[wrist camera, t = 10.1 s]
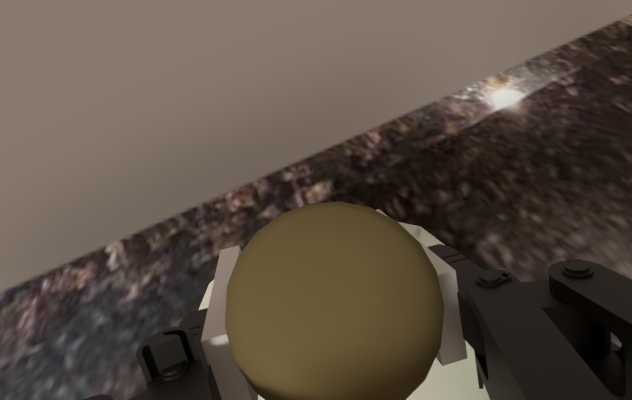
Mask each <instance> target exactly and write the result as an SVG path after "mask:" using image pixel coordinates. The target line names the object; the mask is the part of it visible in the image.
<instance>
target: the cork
mask: <svg viewBox="0 0 632 400" xmlns="http://www.w3.org/2000/svg"><path fill="white" fill-rule="evenodd" d="M443 319H444V302H443V298H442V293H441V289H440V284H439V280H438V276H437V271H436V269H435V268H434V266H433V264H432V262H431V261H430V259H429V257H428V256H427V254H426V252H425V250H424V249H423V247H422V245H421V244H420V242H419V241H418V240H416V239H415V238H414V237H413V236H412V235H411V234H410V233H409V232H408V231H407V230H406V229H405V228H404V227H403V226H402V225H400V224H399V223H398V222H397V221H395V220H393V219H391V218H390V217H388V216H386V215H384V214H382V213H380V212H378V211H376V210H374V209H372V208H370V207H365V206H360V205H355V204H350V203H345V202H340V201H339V202H325V203H312V204H308V205H305V206H302V207H299V208H297V209H294V210H291V211H288V212H286V213H283V214H281V215H280V216H278V217H277V218H275V219H274V220H273V221H271V222H270V223H268V224H267V225H266V226H264V227H263V228H262V229H260V230H259V231H257V233H256V234H255V235H254V237H253V238H252V239H251V240H250V242H249V243H248V244H247V245H246V247H245V248H244V249H243V251H242V252H241V253H240V254H239V256H238V258H237V261H236V263H235V266H234V269H233V271H232V274H231V277H230V279H229V282H228V284H227V292H226V310H225V329H226V333H227V337H228V340H229V344H230V348H231V351H232V355H233V359H234V362H235V363H236V365H237V366H238V368H239V369H240V371H241V372H242V374H243V375H244V377H245V378H246V380H247V381H248V383H249V384H250V386H251V387H252V389H253V390H254V392H255V393H257V394H258V395H259V396H261V397H262V398H263V399H265V400H406V399H407V398H408V397H409V396H410V395H411V394H412V393H413V392H414V391H415V390H416V389H417V388H418V387H419V386H420V385H421V384H422V383H423V382H424V381H425V380H426V377H427V375H428V373H429V371H430V369H431V367H432V364H433V362H434V360H435V358H436V356H437V354H438V351H439V349H440V347H441V339H442V329H443Z"/></svg>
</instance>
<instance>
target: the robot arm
mask: <svg viewBox="0 0 632 400" xmlns="http://www.w3.org/2000/svg"><path fill="white" fill-rule="evenodd" d="M376 211H378V212H380V213H382V214H384V213H383V212H382V211H381V210H379V209H378V210H376ZM384 215H386V214H384ZM386 216H387V215H386ZM415 239H416V238H415ZM416 240H417V239H416ZM420 244H421V245H422V247H423V249H424V250H425V252H426V254H427V256H428V257H429V259H430V261H431V262H432V264H433V266H434V268H435V269H436V271H437V276H438V280H439V284H440V289H441V293H442V298H443V302H444V319H443V329H442V339H441V347H440V349H439V351H438V354H437V356H436V358H437V360H438V361H439V362H440V364H441V365H442V366H444V365H447V364H451V363H454V362H457V361H461V360H464V359H467V350H466V343H465V340H466V342H467V343H468V344H469V345H470V346H471V347H472V348H473V349H474V353H475V361H476V368H477V376H478V383H479V389H484V388H483V383H484V386H485V388H486V391H487V393H488V395H489V398H490V400H632V280H631V279H629V278H627V277H625V276H623V275H621V274H618V273H616V272H614V271H612V270H610V269H608V268H606V267H604V266H602V265H599V264H596V263H593V262H589V261H583V260H578V259H575V260H573V259H572V260H566V261H561V262H557V263H555V264H552V265H551V266H550V267H549V268H548V278H549V280H546V281H535V282H520V281H519V280H518V279H517V277H515V276H514V275H513V274H511V273H509V272H506V271H503V270H496V269H487V270H483V269H482V268H480V267H479V266H478V265H476V264H475V263H473V262H472V261H471V260H469V259H467V258H466V257H465V256H463V255H462V254H460V253H459V252H458V251H456V250H455V249H453V248H452V247H449V246H445V245H442V244H437V245H433V246H429V247H426V246H424V245H423V244H422V243H421V242H420ZM240 253H241V250H240V247H239V245H238V246H235V247H231V248H227V249H223V250H221V251H220V255H219V260H218V265H217V269H216V274H215V278H214V283H213V287H212V292H211V297H210V301H209V306H208V308H205V309H201V310H198V311H194V312H190V313H188V314H187V316H186V317H185V318H184V319H183V320H182V321H181V322H180V324H179V327H173V328H170V329H166V330H163V331H161V332H159V333H157V334H155V335H153V336H151V337H150V338H149V339H147V340H146V341H144V342H143V343H142V345H141V346H140V347H139V348H138V350H137V353H136V355H137V358H138V360H139V363H140V366H141V368H142V371H143V373H144V376H145V379H146V381H147V390H146V391H144V392H143V393H141V394H139V395H137V396H136V397H134V398H132V399H130V400H258V394H257V393H255V392H254V390H253V389H252V387H251V386H250V384H249V383H248V381H247V380H246V378H245V377H244V375H243V374H242V372H241V371H240V369H239V368H238V366H237V365H236V363H235V362H234V359H233V355H232V351H231V348H230V344H229V340H228V337H227V333H226V329H225V310H226V292H227V284H228V282H229V279H230V277H231V274H232V271H233V269H234V266H235V263H236V261H237V258H238V256H239V254H240ZM611 332H612V333H613V334H614V335H616V336H617V338H618V339H619V340H620V342H621V344H622V346H621V347H618V346H617V345H615V344H614V343H612V342H611ZM83 400H113V399H112V398H111V397H110V396H109V395H103V394H102V395H97V396H92V397H89V398H87V399H83Z"/></svg>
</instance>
